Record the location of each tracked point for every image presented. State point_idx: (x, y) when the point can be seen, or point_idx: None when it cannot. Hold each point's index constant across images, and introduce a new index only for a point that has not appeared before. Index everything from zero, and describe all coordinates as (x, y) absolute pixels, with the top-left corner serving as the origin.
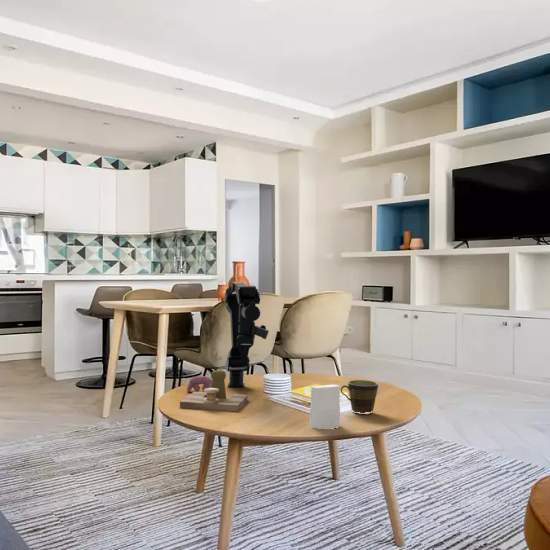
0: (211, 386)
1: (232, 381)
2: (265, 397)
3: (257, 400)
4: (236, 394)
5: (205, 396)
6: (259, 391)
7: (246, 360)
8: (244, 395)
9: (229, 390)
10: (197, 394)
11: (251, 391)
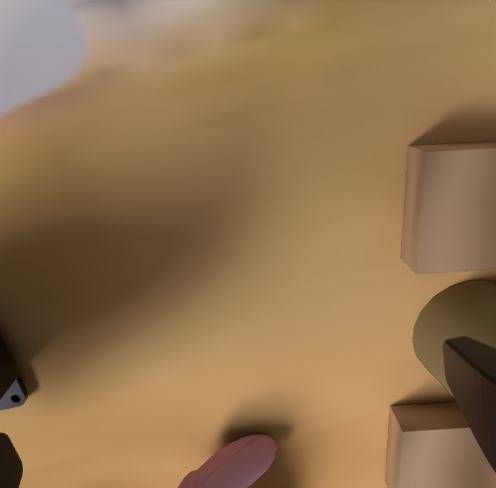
0: (251, 468)
1: (2, 397)
2: (263, 23)
3: (391, 67)
4: (430, 244)
5: None
6: (55, 135)
7: (493, 350)
8: (456, 173)
9: (126, 357)
10: (479, 470)
11: (86, 200)
